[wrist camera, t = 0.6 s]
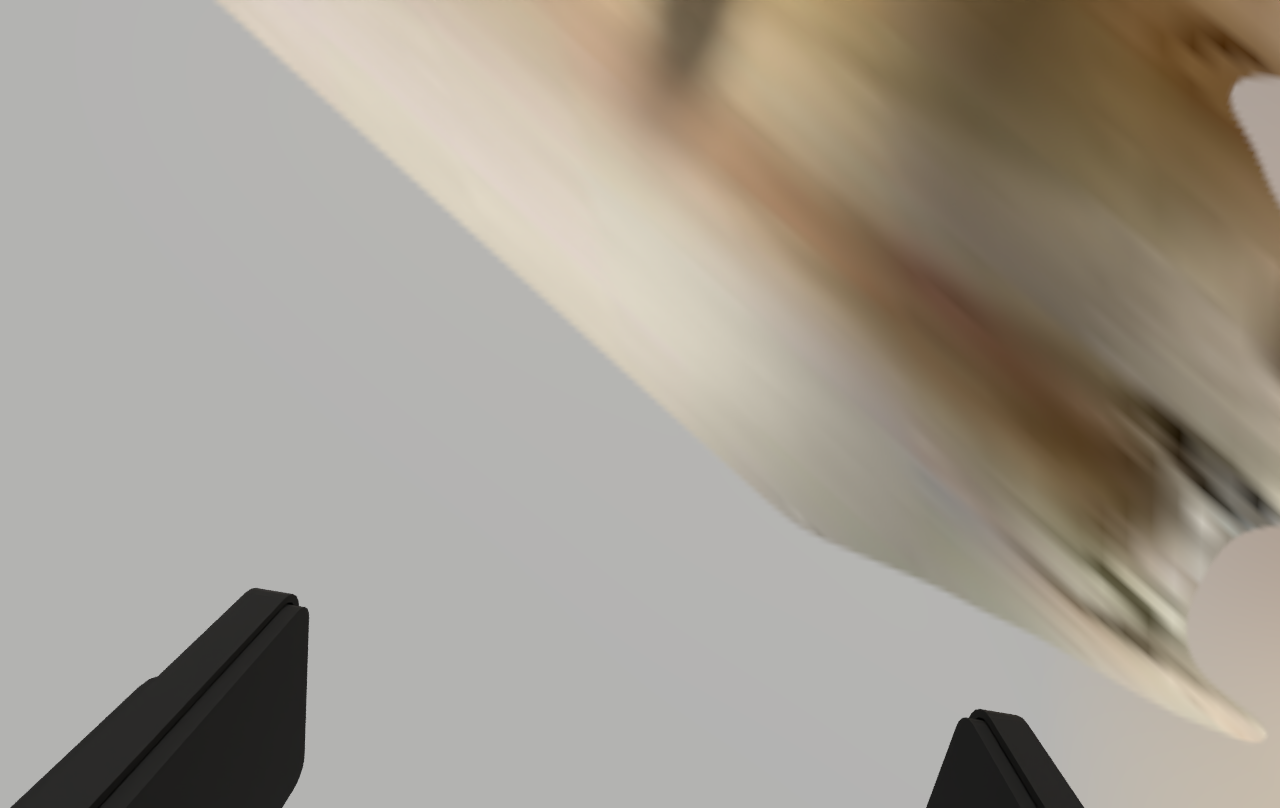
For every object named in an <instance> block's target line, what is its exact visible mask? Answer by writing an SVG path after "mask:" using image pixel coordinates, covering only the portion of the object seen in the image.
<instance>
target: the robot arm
mask: <svg viewBox="0 0 1280 808" xmlns="http://www.w3.org/2000/svg"><path fill="white" fill-rule="evenodd" d="M308 629H309V612H308V609H307V608H305V607H301V606H299V603H298V599H297V597H296V596H295V595H293V594H289V593H283V592H277V591H271V590H265V589H259V588H253V589H250V590H249V591H247V592H246V593H245V594H244V595H243V596H242V597H241V598H240V599H239V600H237V601H236V602H235V603H234V604H233V605H232V606H231V607H230V608H229V609H228V610H227V611H226V612H225V613H224V614H223V615H222V616H221V617H220V618H219V619H218V620H216V621H215V622H214V623H213V624H212V625H211V626H210V627H209V628H208V629H207V630H206V631H205V632H204V633H203V634H202V635H201V636H200V637H199V638H198V639H197V640H196V641H194V642H193V643H192V644H191V645H190V646H189V647H188V648H187V649H186V650H185V651H184V652H183V653H182V654H181V655H180V656H179V657H178V658H177V659H176V660H175V661H174V662H173V663H171V664H170V665H169V666H168V667H167V668H166V669H165V670H164V671H163V672H162V673H161V674H160V675H159V676H158V677H155V678H151V679H149V680H148V681H146V682H145V683H144V684H142V685H141V686H140V687H139V688H137V689H136V690H135V691H134V692H133V693H132V694H131V695H130V696H129V697H128V698H127V699H125V701H123V702H122V703H121V704H120V705H119V706H118V707H117V708H116V709H115V710H114V711H113V712H112V713H111V714H110V715H108V717H106V718H105V719H104V720H103V721H102V722H101V723H100V724H99V725H98V726H97V727H96V728H95V729H94V730H93V731H92V732H90V733H89V734H88V735H87V736H86V737H85V738H84V739H83V740H82V741H81V742H80V743H79V744H78V745H77V746H75V747H74V748H73V749H72V750H71V751H70V752H69V753H68V754H67V755H66V756H65V757H64V758H63V759H62V760H61V761H60V762H58V763H57V764H56V765H55V766H54V767H53V768H52V769H51V770H50V771H49V772H48V773H47V774H46V775H45V776H44V777H43V778H41V779H40V780H39V781H38V782H37V783H36V784H35V785H34V786H33V787H32V788H31V789H30V790H29V791H28V792H27V793H26V794H25V795H23V796H22V797H21V798H20V799H19V800H18V801H17V802H16V803H15V804H14V805H13V806H12V807H11V808H282V807H283V805H284V804H285V802H286V800H287V799H288V797H289V796H290V794H291V793H292V791H293V789H294V787H295V786H296V784H297V782H298V779H299V777H300V774H301V771H302V768H303V763H304V753H305V723H306V721H305V720H306V692H307V691H306V690H307V662H308V660H307V659H308V632H309V630H308ZM926 808H1084V807H1083V805H1082V804H1081V803H1080V801H1079V799H1078V798H1077V797H1076V795H1075V793H1074V792H1073V790H1072V789H1071V788H1070V786H1069V785H1068V783H1067V782H1066V780H1065V779H1064V777H1063V776H1062V774H1061V773H1060V771H1059V770H1058V769H1057V767H1056V765H1055V764H1054V762H1053V761H1052V759H1051V758H1050V756H1049V755H1048V754H1047V752H1046V751H1045V749H1044V748H1043V746H1042V745H1041V743H1040V742H1039V740H1038V739H1037V737H1036V736H1035V734H1034V733H1033V731H1032V730H1031V728H1030V727H1029V725H1028V724H1027V723H1026V722H1025V721H1024V719H1023V718H1021V717H1019V716H1017V715H1012V714H1006V713H999V712H994V711H987V710H982V709H978V710H975V711H974V712H973V713H971V715H970V717H969V718H962V719H961V720H960V721H959V722H958V724H957V726H956V729H955V732H954V734H953V737H952V740H951V742H950V745H949V748H948V751H947V753H946V756H945V759H944V761H943V764H942V767H941V769H940V772H939V775H938V777H937V780H936V783H935V786H934V789H933V791H932V794H931V797H930V799H929V802H928V804H927V807H926Z"/></svg>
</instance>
